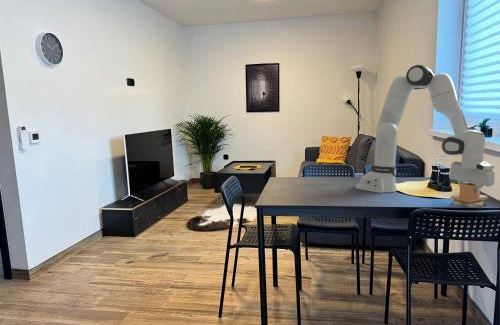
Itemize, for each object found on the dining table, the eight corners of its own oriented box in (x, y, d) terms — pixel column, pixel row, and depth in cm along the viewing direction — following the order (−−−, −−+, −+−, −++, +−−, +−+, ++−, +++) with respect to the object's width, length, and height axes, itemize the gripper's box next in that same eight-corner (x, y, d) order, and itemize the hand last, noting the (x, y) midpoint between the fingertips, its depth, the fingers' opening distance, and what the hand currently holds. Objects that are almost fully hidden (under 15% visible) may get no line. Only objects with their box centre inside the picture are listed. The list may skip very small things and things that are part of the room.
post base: (452, 204, 168) (453, 201, 168) (456, 196, 183) (456, 193, 182) (482, 208, 161) (482, 205, 161) (484, 199, 176) (484, 196, 175)
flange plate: (468, 202, 163) (469, 187, 162) (450, 198, 171) (451, 184, 170) (487, 198, 169) (488, 184, 168) (469, 194, 177) (470, 180, 176)
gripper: (447, 161, 175) (445, 187, 177) (489, 167, 157) (486, 197, 159) (455, 160, 178) (453, 186, 180) (498, 166, 159) (494, 195, 162)
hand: (469, 191), depth 169 cm, fingers closed on flange plate, 6 cm apart
